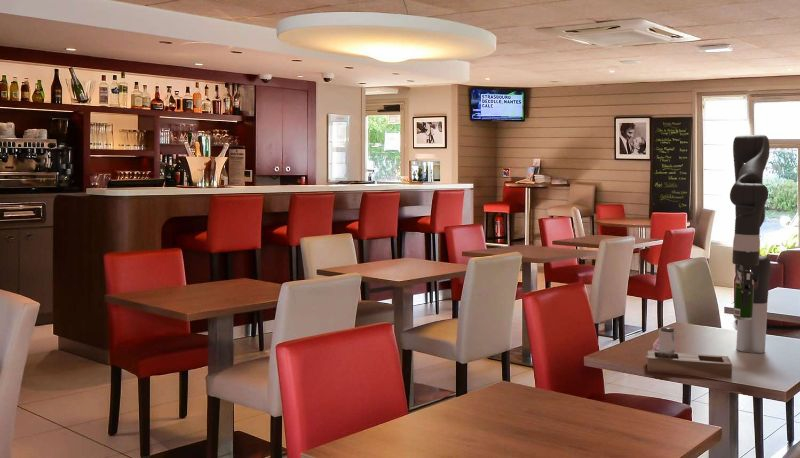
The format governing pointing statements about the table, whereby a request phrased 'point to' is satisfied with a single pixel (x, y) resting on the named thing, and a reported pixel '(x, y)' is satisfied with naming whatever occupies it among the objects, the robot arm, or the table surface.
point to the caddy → (690, 364)
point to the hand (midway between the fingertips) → (743, 304)
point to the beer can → (740, 310)
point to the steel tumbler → (666, 342)
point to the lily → (655, 346)
